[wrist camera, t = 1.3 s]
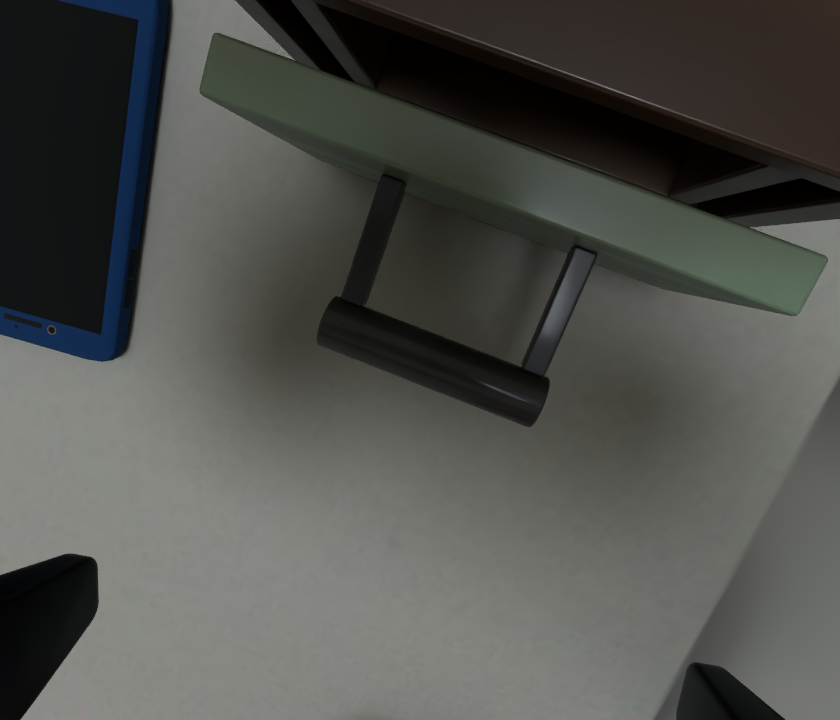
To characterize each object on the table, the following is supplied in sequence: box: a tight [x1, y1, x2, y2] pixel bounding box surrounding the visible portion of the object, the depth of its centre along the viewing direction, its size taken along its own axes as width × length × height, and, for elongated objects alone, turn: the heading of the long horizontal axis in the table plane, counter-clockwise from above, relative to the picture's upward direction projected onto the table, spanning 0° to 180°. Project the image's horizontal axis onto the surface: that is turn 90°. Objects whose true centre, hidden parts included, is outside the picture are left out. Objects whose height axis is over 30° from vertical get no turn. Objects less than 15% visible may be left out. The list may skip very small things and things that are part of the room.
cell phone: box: [0, 0, 168, 362], centre depth 20 cm, size 7×14×1 cm, turn 166°
